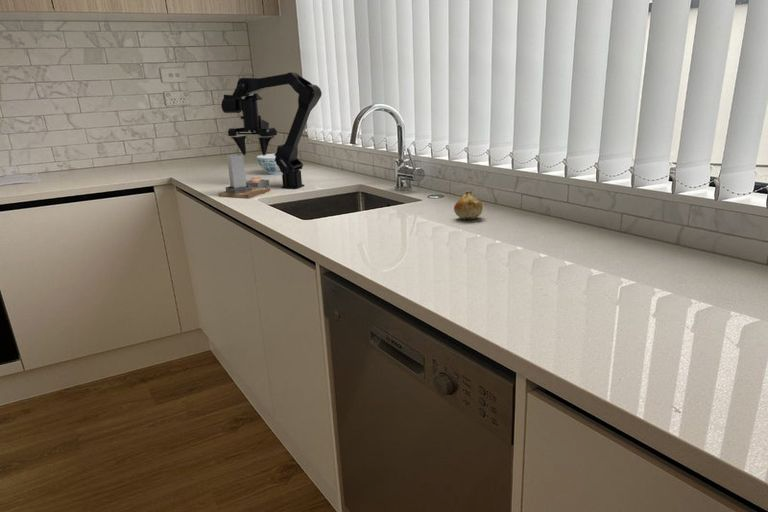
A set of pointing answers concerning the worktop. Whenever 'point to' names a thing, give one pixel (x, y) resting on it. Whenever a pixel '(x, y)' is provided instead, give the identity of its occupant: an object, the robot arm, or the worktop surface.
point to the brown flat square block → (243, 192)
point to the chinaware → (269, 164)
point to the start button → (255, 179)
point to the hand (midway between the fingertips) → (254, 155)
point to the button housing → (258, 183)
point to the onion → (468, 206)
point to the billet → (236, 171)
